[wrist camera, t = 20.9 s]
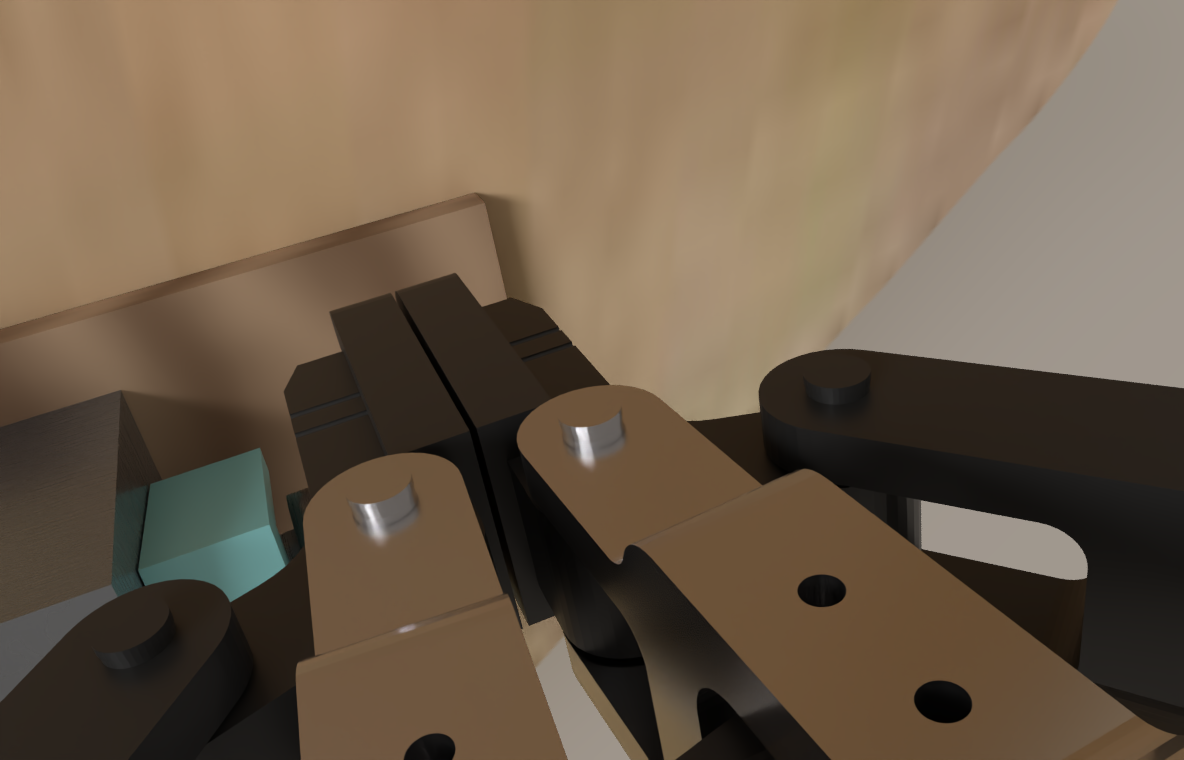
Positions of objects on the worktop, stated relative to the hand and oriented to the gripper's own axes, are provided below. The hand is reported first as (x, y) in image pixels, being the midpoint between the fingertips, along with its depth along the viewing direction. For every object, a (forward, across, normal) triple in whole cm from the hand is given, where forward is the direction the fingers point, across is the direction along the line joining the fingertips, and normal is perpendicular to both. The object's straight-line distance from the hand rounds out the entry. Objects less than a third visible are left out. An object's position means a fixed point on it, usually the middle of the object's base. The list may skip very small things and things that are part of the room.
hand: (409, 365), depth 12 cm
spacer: (+24, +6, +16) cm, 30 cm away
